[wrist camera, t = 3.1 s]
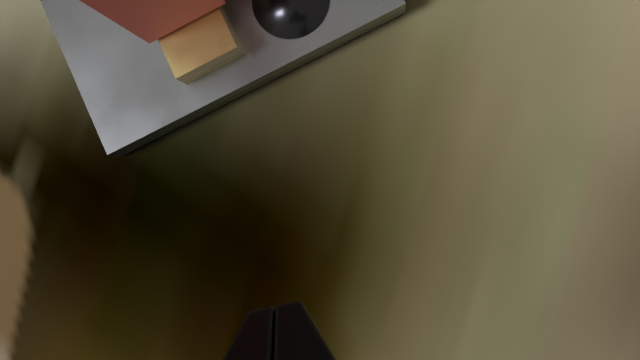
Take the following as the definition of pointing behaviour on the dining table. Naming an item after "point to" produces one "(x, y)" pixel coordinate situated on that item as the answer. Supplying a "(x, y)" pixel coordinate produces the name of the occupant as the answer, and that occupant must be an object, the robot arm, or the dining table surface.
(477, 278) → the dining table surface
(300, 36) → the bolt plate
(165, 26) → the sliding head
